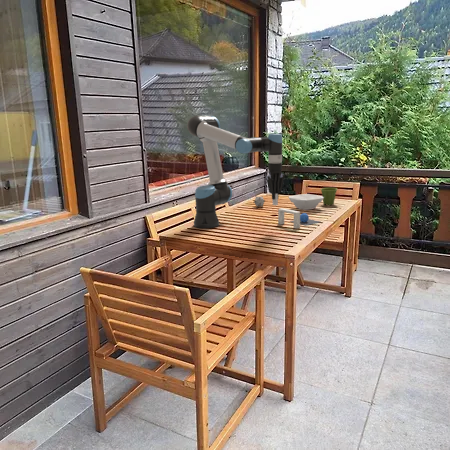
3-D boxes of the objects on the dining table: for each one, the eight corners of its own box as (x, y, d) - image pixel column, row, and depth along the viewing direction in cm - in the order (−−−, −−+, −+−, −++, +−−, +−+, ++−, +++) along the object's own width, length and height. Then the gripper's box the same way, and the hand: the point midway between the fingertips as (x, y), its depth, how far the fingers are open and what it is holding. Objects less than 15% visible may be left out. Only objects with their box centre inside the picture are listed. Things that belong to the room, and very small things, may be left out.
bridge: (296, 228, 234) (296, 212, 232) (278, 224, 246) (278, 208, 243) (299, 227, 236) (300, 211, 234) (281, 223, 247) (281, 208, 245)
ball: (311, 216, 248) (308, 224, 246) (304, 216, 252) (301, 223, 250) (307, 211, 245) (303, 219, 243) (300, 211, 249) (296, 218, 247)
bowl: (305, 213, 272) (305, 200, 270) (284, 208, 289) (284, 196, 287) (327, 209, 283) (327, 197, 281) (306, 205, 300) (306, 193, 298)
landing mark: (306, 225, 240) (306, 225, 240) (289, 221, 250) (289, 221, 250) (320, 222, 248) (320, 221, 247) (304, 218, 258) (304, 218, 258)
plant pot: (318, 203, 306) (319, 187, 303) (334, 202, 305) (335, 187, 303) (321, 206, 294) (322, 190, 292) (338, 205, 294) (339, 190, 291)
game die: (260, 211, 300) (267, 199, 301) (262, 209, 291) (268, 197, 293) (250, 205, 300) (256, 193, 301) (251, 203, 292) (257, 191, 293)
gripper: (271, 163, 219) (271, 207, 224) (288, 162, 226) (288, 204, 232) (261, 163, 225) (261, 205, 230) (279, 161, 232) (278, 202, 238)
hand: (275, 204), depth 231 cm, fingers closed
